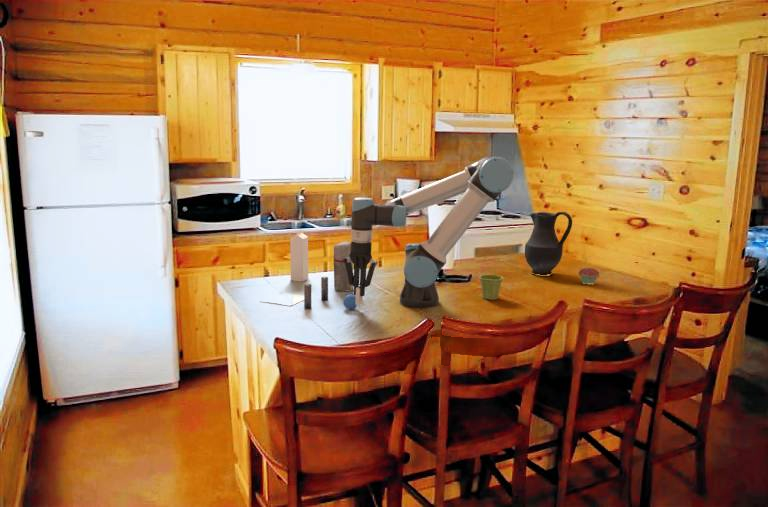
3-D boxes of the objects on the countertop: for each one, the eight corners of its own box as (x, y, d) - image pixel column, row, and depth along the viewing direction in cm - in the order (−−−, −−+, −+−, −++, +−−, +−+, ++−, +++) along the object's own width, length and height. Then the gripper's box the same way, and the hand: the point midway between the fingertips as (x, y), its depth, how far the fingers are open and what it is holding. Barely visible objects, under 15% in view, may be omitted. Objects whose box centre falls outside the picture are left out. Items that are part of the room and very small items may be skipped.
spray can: (350, 292, 250) (350, 244, 246) (331, 291, 252) (331, 243, 248) (355, 287, 258) (356, 240, 254) (336, 286, 260) (336, 239, 256)
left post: (312, 307, 228) (312, 284, 226) (309, 309, 226) (308, 286, 224) (306, 307, 229) (306, 283, 227) (303, 308, 227) (302, 285, 225)
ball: (362, 305, 228) (358, 291, 228) (355, 309, 223) (351, 295, 223) (350, 308, 231) (345, 294, 230) (343, 312, 226) (338, 298, 225)
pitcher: (531, 268, 300) (535, 207, 294) (573, 274, 288) (579, 211, 282) (517, 274, 286) (521, 210, 280) (560, 281, 274) (565, 214, 268)
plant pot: (473, 296, 248) (474, 275, 246) (493, 294, 252) (494, 273, 250) (486, 302, 240) (487, 280, 238) (506, 300, 243) (507, 278, 241)
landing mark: (310, 297, 242) (310, 296, 242) (290, 306, 230) (290, 305, 230) (279, 293, 248) (279, 292, 248) (259, 301, 235) (259, 301, 235)
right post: (329, 299, 240) (329, 277, 238) (326, 301, 237) (325, 278, 235) (323, 298, 241) (323, 276, 239) (320, 300, 238) (320, 277, 236)
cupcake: (577, 285, 269) (579, 258, 266) (579, 280, 276) (581, 254, 274) (598, 287, 266) (600, 260, 263) (599, 282, 273) (601, 256, 271)
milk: (290, 280, 268) (289, 230, 264) (295, 277, 274) (294, 228, 270) (303, 281, 267) (302, 231, 262) (308, 278, 273) (307, 229, 268)
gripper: (340, 240, 219) (338, 304, 224) (373, 244, 215) (370, 309, 219) (349, 237, 226) (347, 299, 231) (382, 241, 221) (379, 304, 226)
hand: (358, 304), depth 225 cm, fingers closed
